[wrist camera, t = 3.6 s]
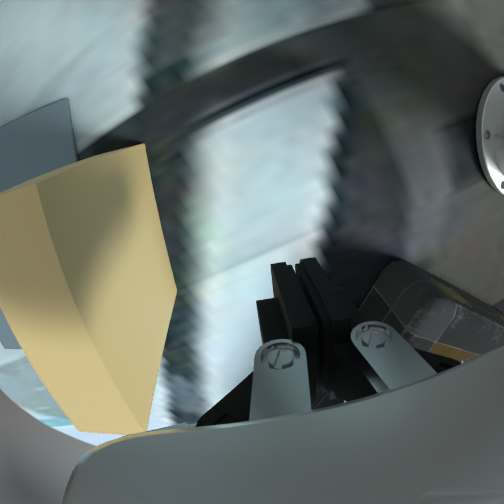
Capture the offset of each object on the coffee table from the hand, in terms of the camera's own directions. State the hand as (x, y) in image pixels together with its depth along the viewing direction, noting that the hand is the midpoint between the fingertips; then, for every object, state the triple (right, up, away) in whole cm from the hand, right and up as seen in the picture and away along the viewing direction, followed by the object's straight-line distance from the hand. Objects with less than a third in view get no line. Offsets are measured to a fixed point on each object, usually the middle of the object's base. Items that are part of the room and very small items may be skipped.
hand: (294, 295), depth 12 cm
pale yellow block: (-10, +4, +11) cm, 16 cm away
